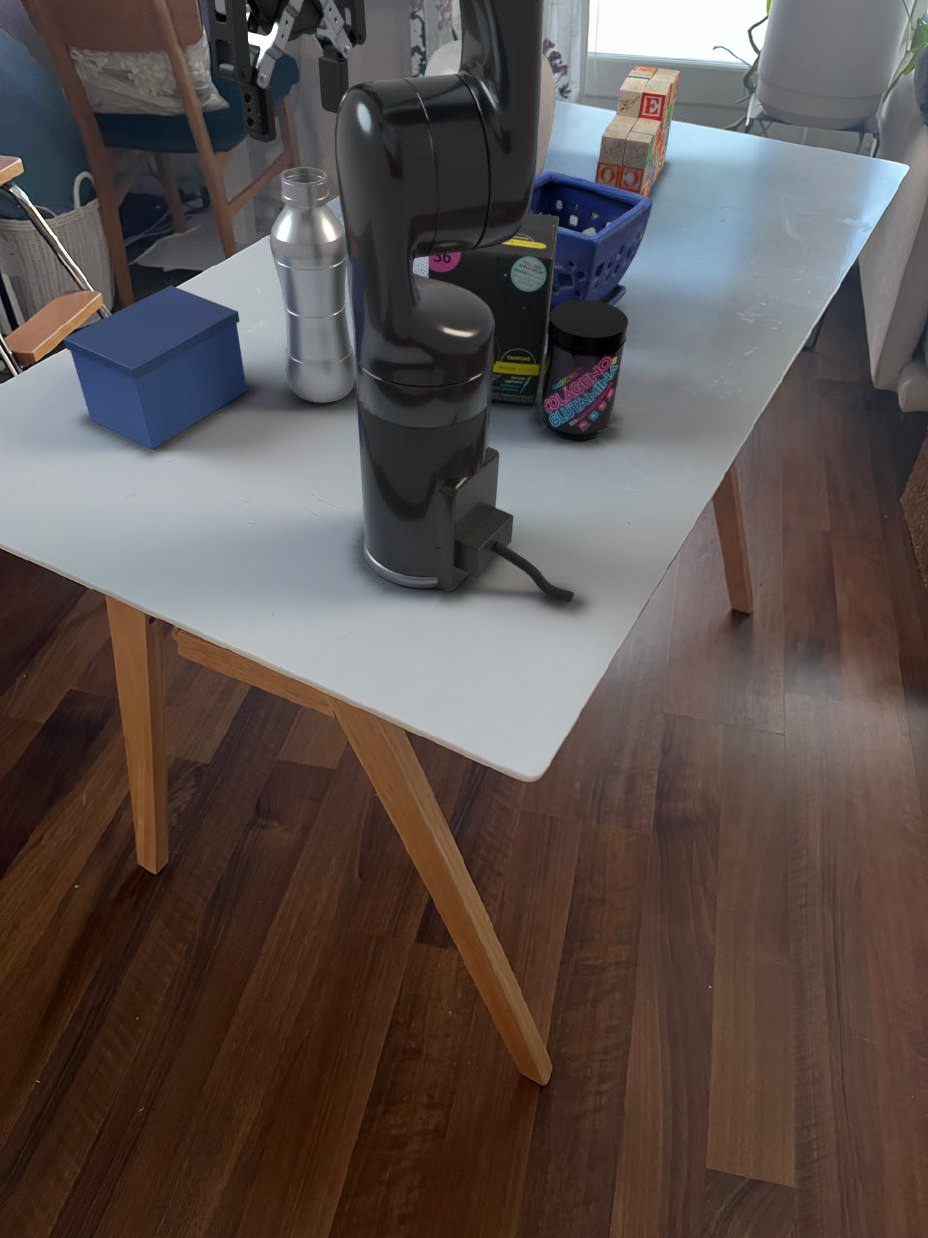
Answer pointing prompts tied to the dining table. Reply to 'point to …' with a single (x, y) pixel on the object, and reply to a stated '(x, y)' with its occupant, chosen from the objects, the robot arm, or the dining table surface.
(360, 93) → the robot arm
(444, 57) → the vase
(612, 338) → the supplement container
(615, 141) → the stack of blocks
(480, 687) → the dining table surface
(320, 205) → the silver water bottle
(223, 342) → the blue box
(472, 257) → the tampon box
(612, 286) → the flower pot
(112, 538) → the dining table surface
